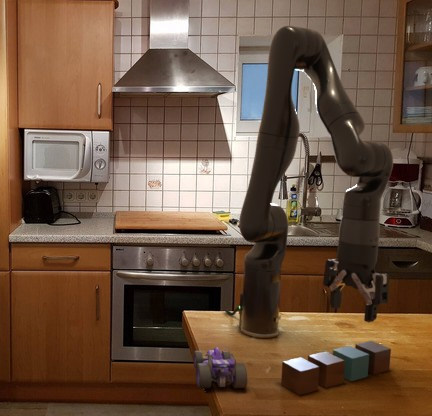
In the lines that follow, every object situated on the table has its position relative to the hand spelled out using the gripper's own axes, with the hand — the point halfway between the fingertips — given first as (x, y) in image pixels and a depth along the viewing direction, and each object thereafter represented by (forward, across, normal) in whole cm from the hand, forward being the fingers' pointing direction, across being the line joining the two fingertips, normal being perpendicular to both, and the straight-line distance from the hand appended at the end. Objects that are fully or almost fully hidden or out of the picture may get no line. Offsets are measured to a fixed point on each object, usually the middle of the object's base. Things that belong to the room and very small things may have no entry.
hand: (351, 314), depth 110 cm
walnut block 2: (+13, 0, -7) cm, 15 cm away
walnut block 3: (+13, 0, +7) cm, 15 cm away
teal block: (+13, 0, 0) cm, 13 cm away
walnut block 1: (+13, 0, -14) cm, 19 cm away
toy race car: (+14, -11, -26) cm, 32 cm away
